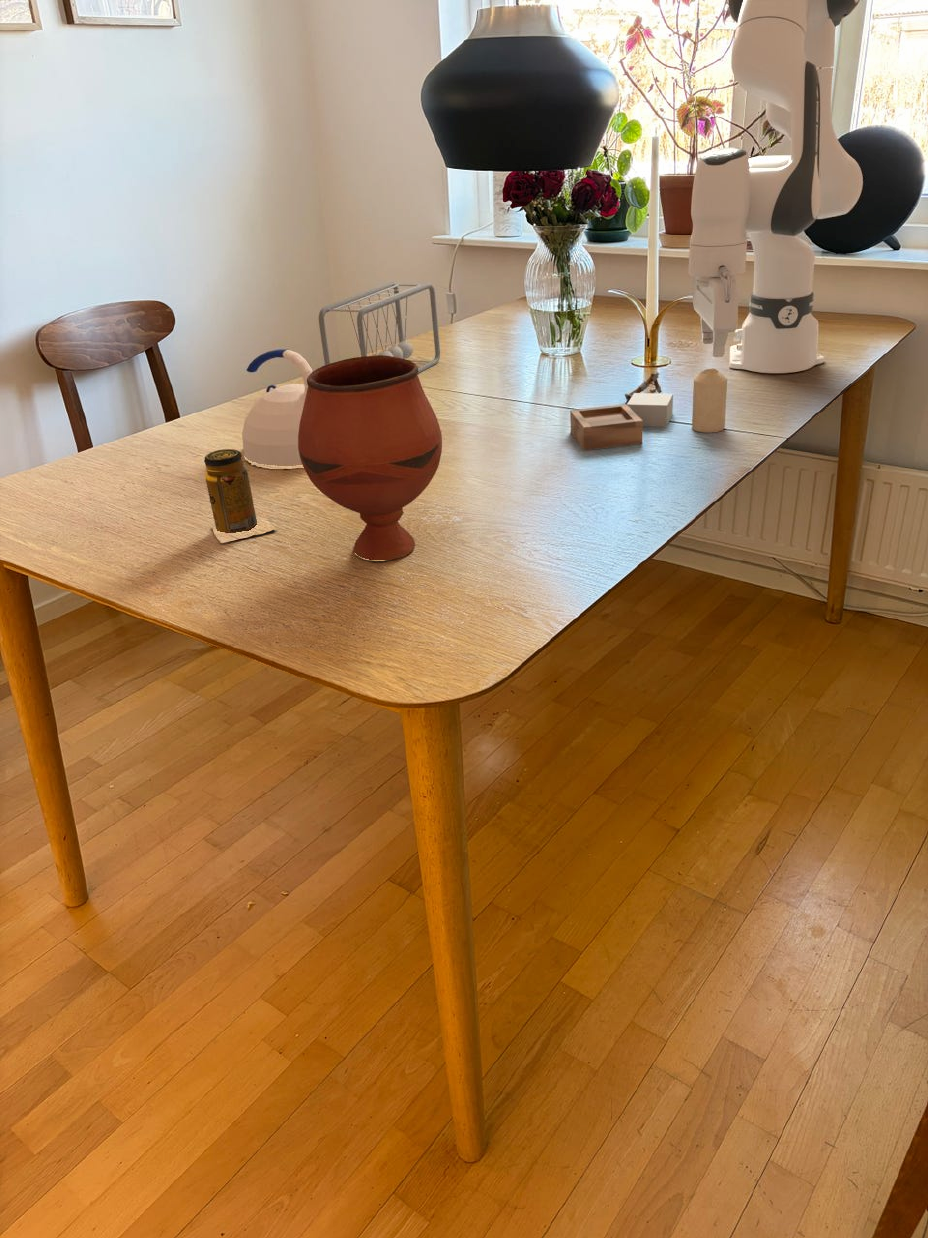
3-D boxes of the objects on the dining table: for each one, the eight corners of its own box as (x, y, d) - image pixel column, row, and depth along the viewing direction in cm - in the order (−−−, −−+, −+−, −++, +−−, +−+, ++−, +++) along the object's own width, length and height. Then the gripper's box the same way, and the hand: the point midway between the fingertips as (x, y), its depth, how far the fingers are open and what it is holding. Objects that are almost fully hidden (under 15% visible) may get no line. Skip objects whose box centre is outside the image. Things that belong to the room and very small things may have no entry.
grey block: (633, 414, 181) (634, 392, 179) (672, 415, 178) (673, 393, 176) (626, 426, 175) (626, 404, 173) (666, 427, 173) (667, 405, 171)
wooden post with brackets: (667, 389, 189) (660, 370, 186) (637, 414, 187) (630, 395, 185) (660, 387, 190) (654, 368, 188) (631, 412, 189) (624, 393, 186)
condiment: (210, 528, 147) (194, 451, 141) (266, 515, 150) (252, 440, 144) (220, 545, 141) (203, 466, 135) (277, 532, 144) (263, 454, 138)
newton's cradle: (402, 359, 228) (394, 279, 220) (441, 361, 224) (435, 280, 215) (328, 396, 206) (315, 309, 197) (370, 400, 201) (359, 310, 192)
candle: (725, 433, 167) (728, 374, 162) (691, 433, 168) (694, 375, 164) (724, 422, 172) (727, 365, 167) (691, 423, 173) (694, 366, 168)
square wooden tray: (570, 432, 173) (570, 410, 172) (625, 425, 174) (626, 403, 172) (584, 450, 165) (583, 427, 163) (642, 443, 166) (642, 420, 164)
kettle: (301, 478, 163) (283, 370, 155) (219, 459, 175) (198, 358, 166) (381, 441, 177) (369, 340, 168) (300, 426, 189) (285, 331, 180)
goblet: (382, 511, 148) (362, 344, 136) (481, 538, 137) (468, 358, 125) (286, 558, 136) (254, 379, 124) (385, 592, 124) (361, 399, 112)
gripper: (751, 270, 147) (744, 363, 154) (725, 251, 165) (720, 335, 172) (708, 273, 148) (703, 365, 154) (687, 253, 166) (683, 337, 172)
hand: (712, 349), depth 163 cm, fingers open, 8 cm apart
